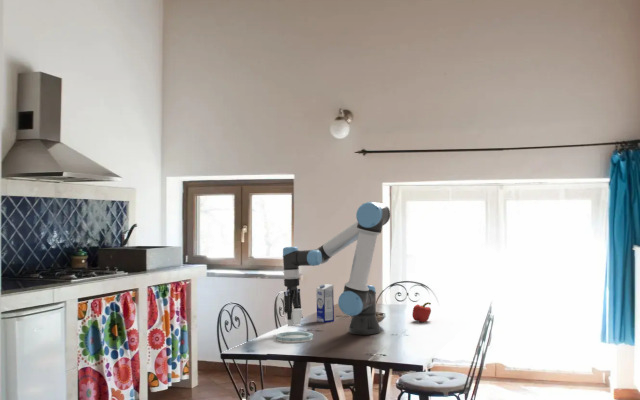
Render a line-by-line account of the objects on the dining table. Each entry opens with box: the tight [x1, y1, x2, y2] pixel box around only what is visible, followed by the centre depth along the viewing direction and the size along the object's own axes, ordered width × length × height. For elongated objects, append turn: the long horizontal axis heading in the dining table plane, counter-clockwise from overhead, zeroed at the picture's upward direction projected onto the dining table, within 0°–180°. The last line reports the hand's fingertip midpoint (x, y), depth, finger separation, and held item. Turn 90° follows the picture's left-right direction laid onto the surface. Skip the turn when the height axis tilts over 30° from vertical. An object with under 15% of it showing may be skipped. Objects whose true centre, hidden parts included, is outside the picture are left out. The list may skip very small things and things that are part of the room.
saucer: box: [275, 330, 314, 344], centre depth 303 cm, size 17×17×2 cm
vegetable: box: [411, 302, 432, 323], centre depth 346 cm, size 11×10×10 cm
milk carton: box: [315, 283, 335, 324], centre depth 353 cm, size 7×7×20 cm
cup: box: [283, 308, 303, 327], centre depth 319 cm, size 7×10×8 cm
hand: (293, 324), depth 319 cm, fingers closed on cup, 7 cm apart
